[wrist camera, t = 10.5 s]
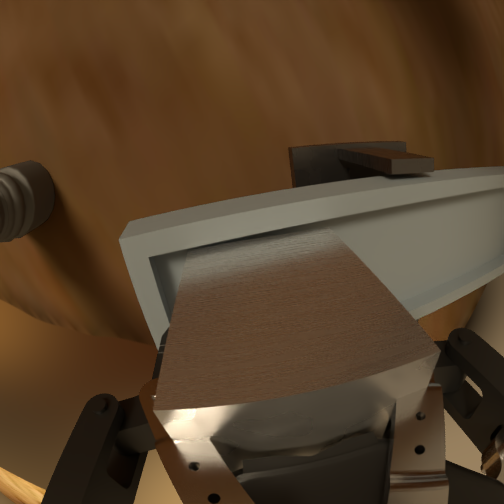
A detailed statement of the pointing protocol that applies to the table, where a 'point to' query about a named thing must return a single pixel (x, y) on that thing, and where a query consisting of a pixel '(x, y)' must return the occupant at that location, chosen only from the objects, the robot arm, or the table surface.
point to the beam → (343, 234)
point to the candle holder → (24, 199)
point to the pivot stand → (353, 162)
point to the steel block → (285, 348)
